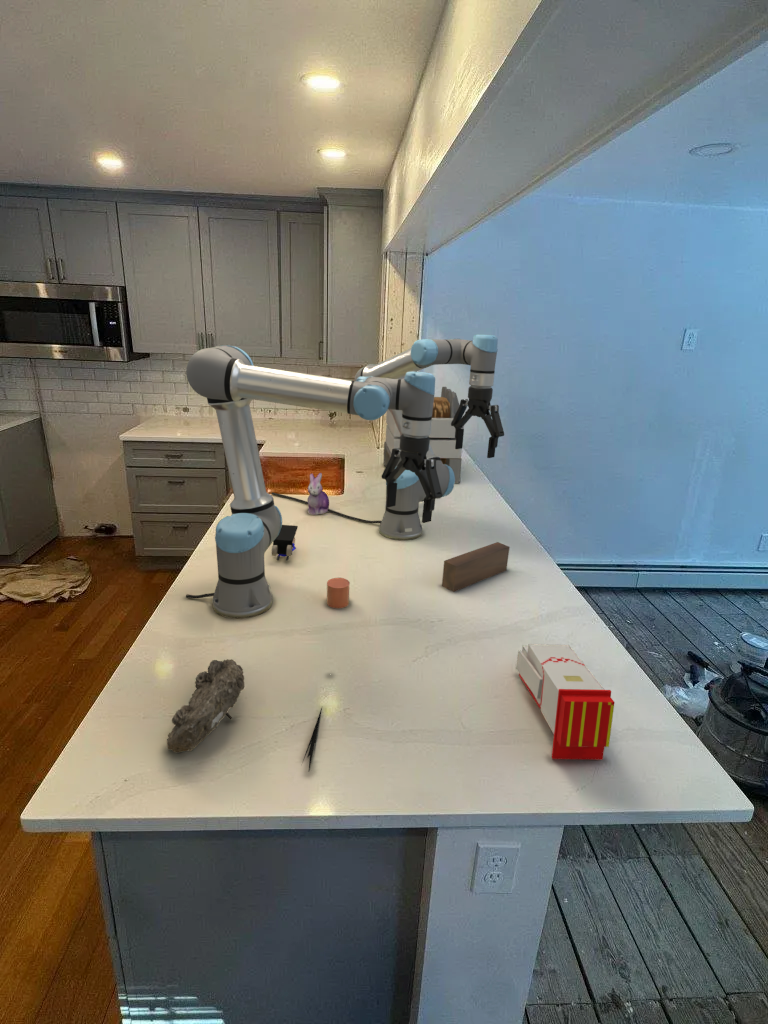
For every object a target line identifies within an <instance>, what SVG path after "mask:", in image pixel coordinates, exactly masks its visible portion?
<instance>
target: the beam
mask: <svg viewBox="0 0 768 1024" xmlns="http://www.w3.org/2000/svg"><path fill="white" fill-rule="evenodd" d="M509 554H510V546H509V545H506V544H505V543H501V542H499V541H496V542H494V543H490V544H487V545H485V546H482V547H479V548H477V549H473V550H470V551H468V552H465V553H463V554H460V555H457V556H453V557H450V558H448V559H446V560H443V570H442V580H441V587H443V588H445V589H447V590H449V591H450V592H453V593H454V592H457V591H460V590H462V589H465V588H467V587H469V586H472V585H475V584H476V583H479V582H481V581H484V580H486V579H490V578H491V577H494V576H496V575H499V574H501V573H504V572H506V571H507V569H508V562H509V556H510V555H509Z"/></svg>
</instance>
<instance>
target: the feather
mask: <svg viewBox="0 0 768 1024" xmlns="http://www.w3.org/2000/svg"><path fill="white" fill-rule="evenodd" d="M329 675H330V676H331V675H332V674H331V673H330V674H329ZM322 710H323V707H321V708H320V710H319V713H318V716H317V719H316V723H315V725H314V728H313V731H312V733H311V737H310V739H309V742H308V745H307V748H306V751H305V754H304V757H303V760H302V763H301V767H302V765H303V763H304V761H305V758H308V759H309V760H308V762H307V763H308V764H307V766H308V771H310V770H311V766H312V765H311V764H312V760H313V757H315V756H314V755H315V751H316V749H315V746H317V739H318V733H319V729H320V722H321V717H322V712H323V711H322ZM313 754H314V755H313ZM306 755H307V757H306Z"/></svg>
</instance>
